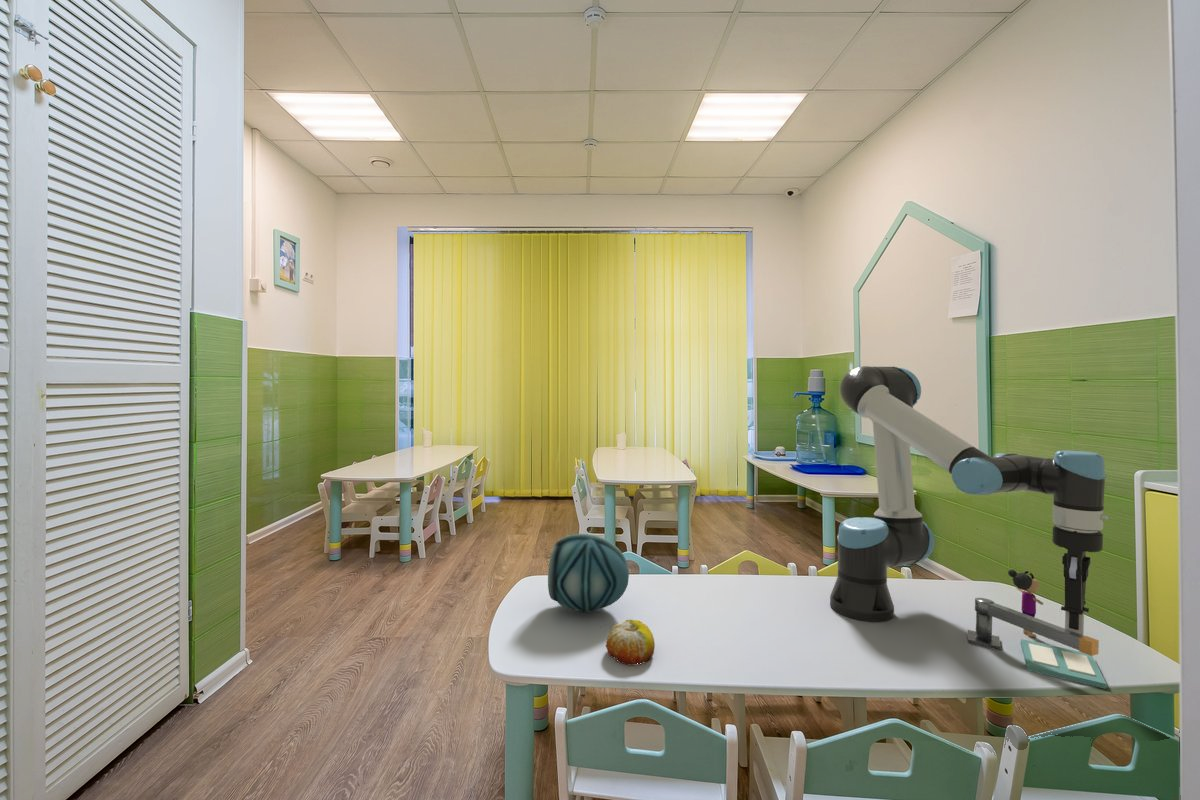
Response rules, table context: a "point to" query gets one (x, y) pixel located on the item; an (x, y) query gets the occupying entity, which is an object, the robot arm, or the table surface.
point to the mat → (1062, 663)
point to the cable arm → (1038, 626)
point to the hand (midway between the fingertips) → (1073, 642)
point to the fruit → (631, 642)
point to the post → (984, 633)
